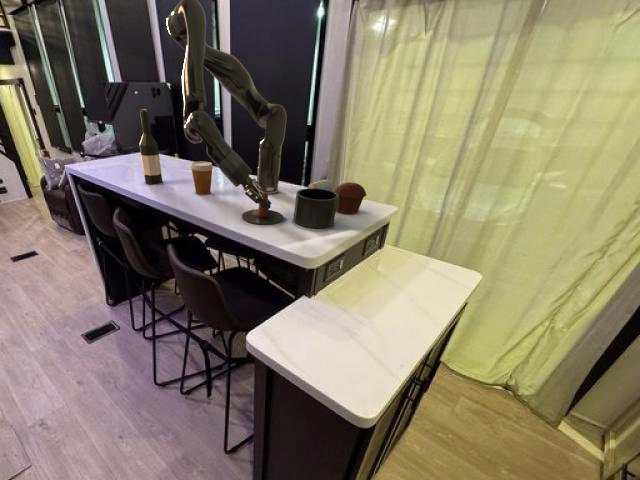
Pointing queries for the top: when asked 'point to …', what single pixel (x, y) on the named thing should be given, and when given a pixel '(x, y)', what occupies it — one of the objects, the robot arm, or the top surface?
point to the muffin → (349, 198)
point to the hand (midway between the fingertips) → (268, 207)
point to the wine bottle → (149, 153)
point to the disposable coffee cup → (202, 177)
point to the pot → (315, 208)
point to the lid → (262, 215)
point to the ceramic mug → (322, 185)
